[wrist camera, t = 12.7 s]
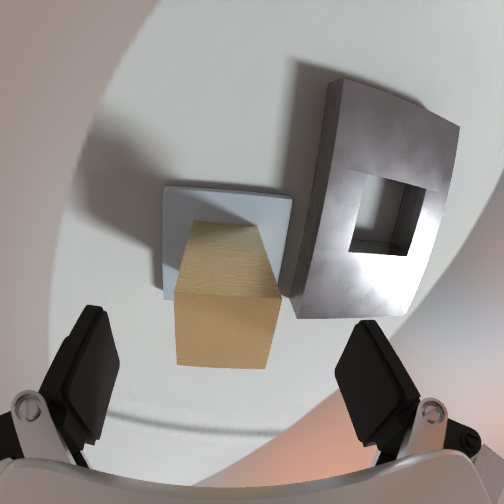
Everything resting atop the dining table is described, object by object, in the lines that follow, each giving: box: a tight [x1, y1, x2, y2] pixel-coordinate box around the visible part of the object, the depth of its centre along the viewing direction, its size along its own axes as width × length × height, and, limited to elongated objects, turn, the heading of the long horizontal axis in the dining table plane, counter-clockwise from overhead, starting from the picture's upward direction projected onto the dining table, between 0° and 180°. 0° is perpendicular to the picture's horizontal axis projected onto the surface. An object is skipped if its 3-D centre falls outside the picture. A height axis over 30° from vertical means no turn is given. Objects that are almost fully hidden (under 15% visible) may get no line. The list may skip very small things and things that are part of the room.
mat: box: [162, 186, 293, 300], centre depth 19 cm, size 8×8×1 cm
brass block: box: [174, 220, 282, 369], centre depth 14 cm, size 4×4×8 cm
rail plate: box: [290, 78, 460, 319], centre depth 18 cm, size 16×10×2 cm, turn 173°
